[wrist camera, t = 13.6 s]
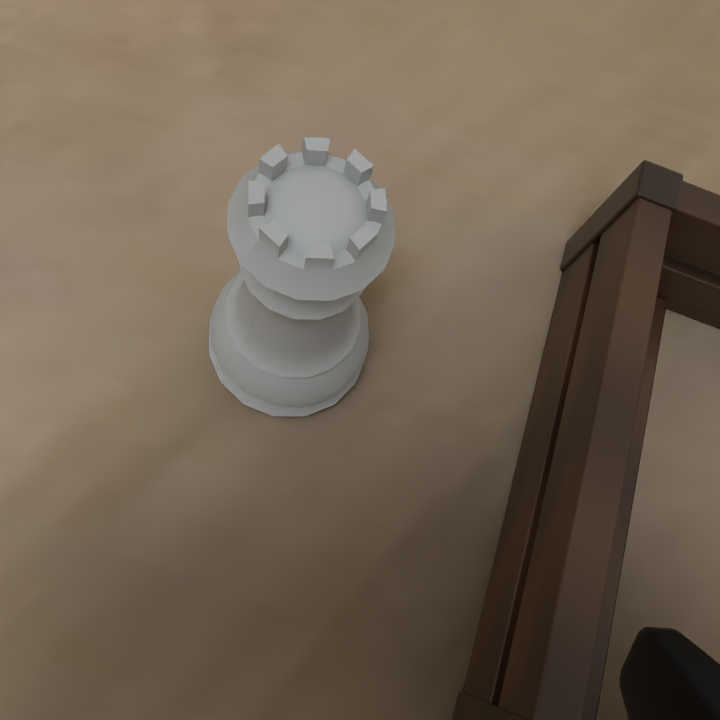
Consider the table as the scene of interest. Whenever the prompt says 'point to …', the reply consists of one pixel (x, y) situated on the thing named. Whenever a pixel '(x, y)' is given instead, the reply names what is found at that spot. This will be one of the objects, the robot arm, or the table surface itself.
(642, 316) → the crate
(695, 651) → the robot arm
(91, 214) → the table surface
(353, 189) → the rook chess piece
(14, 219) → the table surface
